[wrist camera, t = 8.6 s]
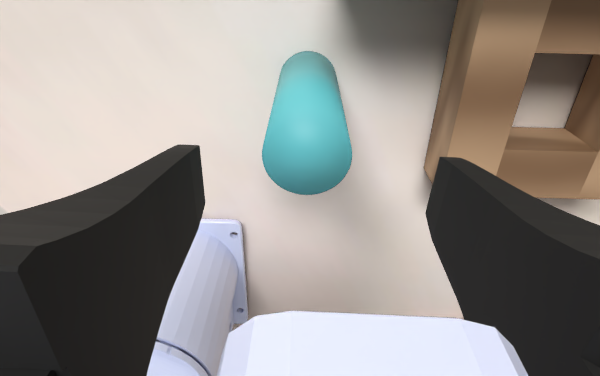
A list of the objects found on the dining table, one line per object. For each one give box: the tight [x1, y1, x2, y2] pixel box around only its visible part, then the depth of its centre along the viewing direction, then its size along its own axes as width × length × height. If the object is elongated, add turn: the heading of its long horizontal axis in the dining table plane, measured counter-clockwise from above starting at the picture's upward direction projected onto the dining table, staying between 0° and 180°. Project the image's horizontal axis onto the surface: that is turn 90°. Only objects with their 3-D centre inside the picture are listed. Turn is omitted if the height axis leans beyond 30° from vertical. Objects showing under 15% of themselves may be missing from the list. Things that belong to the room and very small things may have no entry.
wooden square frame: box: [424, 0, 600, 199], centre depth 19 cm, size 10×10×3 cm
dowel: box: [262, 51, 352, 195], centre depth 17 cm, size 3×3×9 cm
